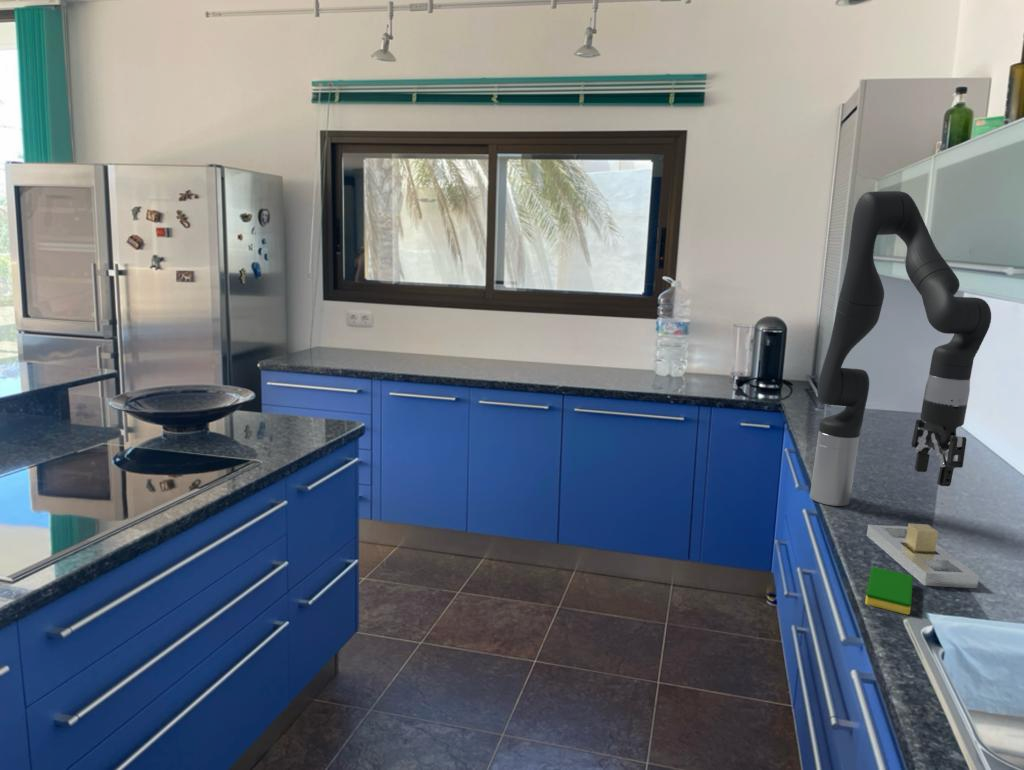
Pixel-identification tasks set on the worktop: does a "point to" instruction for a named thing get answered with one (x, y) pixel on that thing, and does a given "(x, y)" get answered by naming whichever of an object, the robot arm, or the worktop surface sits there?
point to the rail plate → (923, 559)
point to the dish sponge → (889, 590)
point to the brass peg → (921, 539)
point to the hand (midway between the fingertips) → (931, 478)
